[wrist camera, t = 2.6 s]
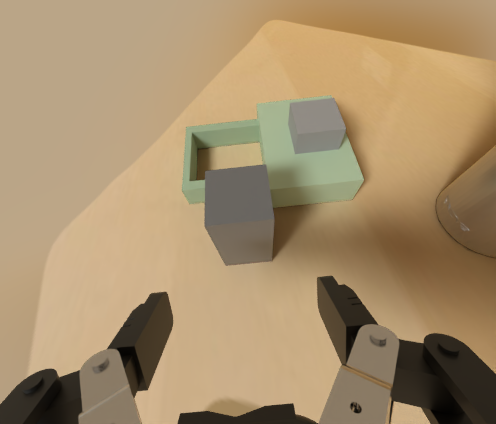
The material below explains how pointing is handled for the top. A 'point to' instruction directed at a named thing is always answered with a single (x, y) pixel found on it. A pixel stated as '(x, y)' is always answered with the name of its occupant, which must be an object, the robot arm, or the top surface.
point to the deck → (286, 151)
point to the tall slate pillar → (240, 214)
